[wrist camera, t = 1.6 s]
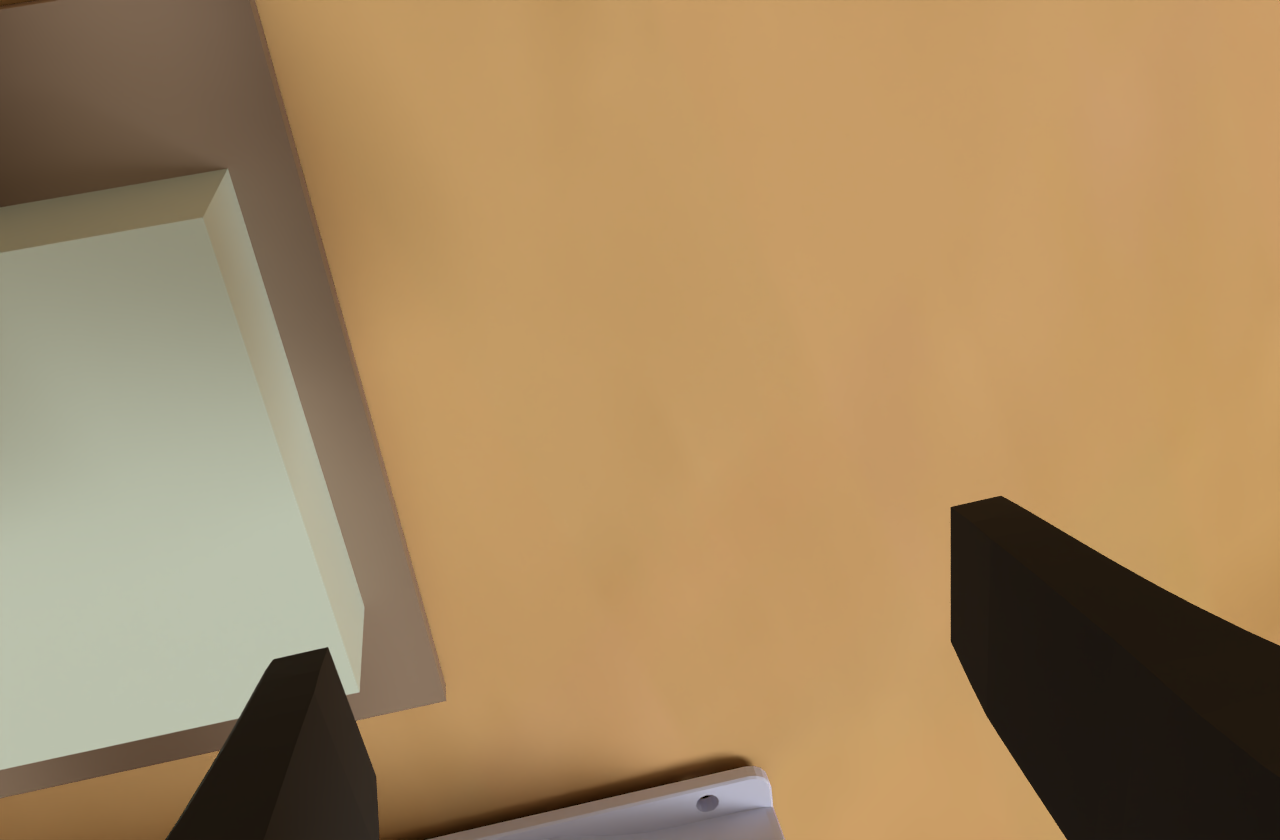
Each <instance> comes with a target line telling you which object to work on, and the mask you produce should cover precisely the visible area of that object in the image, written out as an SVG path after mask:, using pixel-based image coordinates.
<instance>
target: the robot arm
mask: <svg viewBox="0 0 1280 840" xmlns="http://www.w3.org/2000/svg"><path fill="white" fill-rule="evenodd" d="M951 643H952V645H953V647H954V649H955V651H956V654H957V656H958V658H959V660H960V662H961V664H962V666H963V669H964V671H965V673H966V675H967V677H968V679H969V681H970V684H971V686H972V688H973V690H974V692H975V694H976V696H977V698H978V700H979V702H980V704H981V706H982V708H983V710H984V712H985V714H986V716H987V717H988V719H989V720H990V722H991V724H992V725H993V727H994V728H995V730H996V732H997V733H998V735H999V736H1000V738H1001V739H1002V741H1003V742H1004V744H1005V746H1006V747H1007V749H1008V750H1009V752H1010V753H1011V755H1012V756H1013V758H1014V759H1015V761H1016V763H1017V764H1018V766H1019V767H1020V769H1021V770H1022V772H1023V773H1024V775H1025V776H1026V778H1027V779H1028V781H1029V782H1030V784H1031V785H1032V787H1033V789H1034V790H1035V792H1036V793H1037V795H1038V796H1039V798H1040V799H1041V801H1042V802H1043V804H1044V805H1045V807H1046V808H1047V810H1048V811H1049V813H1050V814H1051V816H1052V817H1053V819H1054V820H1055V822H1056V823H1057V825H1058V826H1059V828H1060V830H1061V831H1062V833H1063V834H1064V836H1065V837H1066V839H1067V840H1280V646H1279V645H1277V644H1275V643H1272V642H1270V641H1268V640H1266V639H1263V638H1261V637H1259V636H1257V635H1255V634H1252V633H1250V632H1248V631H1246V630H1244V629H1242V628H1240V627H1238V626H1236V625H1234V624H1232V623H1230V622H1228V621H1226V620H1224V619H1222V618H1220V617H1218V616H1215V615H1213V614H1211V613H1209V612H1207V611H1205V610H1203V609H1201V608H1199V607H1197V606H1195V605H1193V604H1191V603H1189V602H1187V601H1186V600H1184V599H1182V598H1180V597H1178V596H1176V595H1174V594H1172V593H1170V592H1168V591H1166V590H1165V589H1163V588H1161V587H1159V586H1157V585H1155V584H1154V583H1152V582H1150V581H1148V580H1146V579H1144V578H1143V577H1141V576H1139V575H1137V574H1135V573H1134V572H1132V571H1130V570H1128V569H1127V568H1125V567H1123V566H1121V565H1119V564H1118V563H1116V562H1114V561H1112V560H1111V559H1109V558H1107V557H1106V556H1104V555H1102V554H1100V553H1099V552H1097V551H1095V550H1093V549H1092V548H1090V547H1088V546H1087V545H1085V544H1083V543H1082V542H1080V541H1078V540H1076V539H1075V538H1073V537H1071V536H1070V535H1068V534H1066V533H1065V532H1063V531H1061V530H1060V529H1058V528H1056V527H1054V526H1053V525H1051V524H1049V523H1048V522H1046V521H1044V520H1043V519H1041V518H1039V517H1038V516H1036V515H1034V514H1032V513H1031V512H1029V511H1027V510H1026V509H1024V508H1022V507H1020V506H1019V505H1017V504H1015V503H1013V502H1012V501H1010V500H1008V499H1006V498H1004V497H1002V496H998V497H994V498H989V499H985V500H980V501H976V502H971V503H967V504H962V505H958V506H954V507H951ZM706 795H711V796H710V797H707V798H705V799H700V798H701V797H704V796H706ZM165 840H379V820H378V802H377V784H376V775H375V772H374V769H373V767H372V764H371V761H370V759H369V756H368V753H367V750H366V748H365V745H364V742H363V740H362V737H361V734H360V732H359V729H358V726H357V723H356V721H355V718H354V715H353V713H352V710H351V707H350V705H349V702H348V699H347V697H346V694H345V691H344V688H343V686H342V683H341V680H340V678H339V675H338V672H337V670H336V667H335V664H334V661H333V659H332V656H331V653H330V651H329V648H328V647H326V648H321V649H317V650H312V651H308V652H303V653H299V654H294V655H290V656H285V657H281V658H277V659H273V660H272V662H271V663H270V664H269V666H268V667H267V669H266V670H265V672H264V674H263V675H262V677H261V679H260V681H259V682H258V684H257V686H256V688H255V690H254V691H253V693H252V695H251V697H250V699H249V701H248V702H247V704H246V706H245V708H244V710H243V711H242V713H241V715H240V717H239V719H238V720H237V722H236V724H235V726H234V727H233V729H232V731H231V733H230V734H229V736H228V738H227V740H226V741H225V743H224V745H223V747H222V748H221V750H220V752H219V754H218V755H217V757H216V759H215V761H214V762H213V764H212V766H211V767H210V769H209V770H208V772H207V774H206V775H205V777H204V779H203V780H202V782H201V784H200V785H199V787H198V789H197V790H196V792H195V794H194V795H193V797H192V798H191V800H190V802H189V803H188V805H187V807H186V808H185V810H184V812H183V813H182V815H181V816H180V818H179V820H178V821H177V823H176V824H175V826H174V827H173V829H172V831H171V832H170V833H169V835H168V836H167V838H166V839H165ZM427 840H785V838H784V835H783V832H782V830H781V827H780V824H779V821H778V819H777V816H776V813H775V810H774V808H773V801H772V791H771V785H770V783H769V780H768V777H767V775H766V772H765V771H764V770H762V769H761V768H759V767H755V766H746V767H740V768H736V769H732V770H727V771H723V772H719V773H714V774H710V775H706V776H701V777H697V778H693V779H688V780H684V781H679V782H675V783H671V784H666V785H662V786H658V787H653V788H649V789H645V790H640V791H636V792H632V793H627V794H623V795H618V796H614V797H610V798H605V799H601V800H597V801H592V802H588V803H584V804H579V805H575V806H571V807H566V808H562V809H557V810H553V811H549V812H544V813H540V814H536V815H531V816H527V817H523V818H518V819H514V820H510V821H505V822H501V823H497V824H492V825H488V826H483V827H479V828H475V829H470V830H466V831H462V832H457V833H453V834H449V835H444V836H440V837H436V838H431V839H427Z"/></svg>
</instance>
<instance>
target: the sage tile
mask: <svg viewBox="0 0 1280 840" xmlns="http://www.w3.org/2000/svg"><path fill="white" fill-rule="evenodd" d="M363 624H364V604H363V601H362V598H361V594H360V591H359V588H358V585H357V582H356V578H355V575H354V572H353V569H352V565H351V562H350V559H349V556H348V553H347V549H346V546H345V543H344V540H343V537H342V533H341V530H340V527H339V524H338V521H337V517H336V514H335V511H334V508H333V504H332V501H331V498H330V495H329V492H328V488H327V485H326V482H325V479H324V476H323V472H322V469H321V466H320V463H319V460H318V456H317V453H316V450H315V447H314V444H313V440H312V437H311V434H310V431H309V427H308V424H307V421H306V418H305V415H304V411H303V408H302V405H301V402H300V399H299V395H298V392H297V389H296V386H295V383H294V379H293V376H292V373H291V370H290V366H289V363H288V360H287V357H286V354H285V350H284V347H283V344H282V341H281V338H280V334H279V331H278V328H277V325H276V322H275V318H274V315H273V312H272V309H271V305H270V302H269V299H268V296H267V293H266V289H265V286H264V283H263V280H262V277H261V273H260V270H259V267H258V264H257V261H256V257H255V254H254V251H253V248H252V244H251V241H250V238H249V235H248V232H247V228H246V225H245V222H244V219H243V216H242V212H241V209H240V206H239V203H238V200H237V196H236V193H235V190H234V187H233V184H232V180H231V177H230V174H229V171H228V169H222V170H216V171H210V172H204V173H198V174H193V175H187V176H181V177H175V178H169V179H163V180H157V181H152V182H146V183H140V184H134V185H128V186H122V187H117V188H111V189H105V190H99V191H93V192H87V193H82V194H76V195H70V196H64V197H58V198H52V199H47V200H41V201H35V202H29V203H23V204H17V205H11V206H6V207H0V770H2V769H7V768H12V767H16V766H21V765H26V764H30V763H35V762H39V761H44V760H49V759H53V758H58V757H63V756H67V755H72V754H76V753H81V752H86V751H90V750H95V749H100V748H104V747H109V746H113V745H118V744H123V743H127V742H132V741H137V740H141V739H146V738H150V737H155V736H160V735H164V734H169V733H174V732H178V731H183V730H187V729H192V728H197V727H201V726H206V725H211V724H215V723H220V722H224V721H229V720H234V719H238V718H239V717H240V715H241V713H242V711H243V710H244V708H245V706H246V704H247V702H248V701H249V699H250V697H251V695H252V693H253V691H254V690H255V688H256V686H257V684H258V682H259V681H260V679H261V677H262V675H263V674H264V672H265V670H266V669H267V667H268V666H269V664H270V663H271V662H272V660H273V659H277V658H281V657H285V656H290V655H294V654H299V653H303V652H308V651H312V650H317V649H321V648H326V647H328V648H329V651H330V653H331V656H332V659H333V661H334V664H335V667H336V670H337V672H338V675H339V678H340V680H341V683H342V686H343V688H344V691H345V694H346V695H349V694H354V693H359V692H360V676H361V659H362V642H363Z"/></svg>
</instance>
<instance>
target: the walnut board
mask: <svg viewBox="0 0 1280 840" xmlns="http://www.w3.org/2000/svg"><path fill="white" fill-rule="evenodd" d="M222 169H228V171H229V174H230V177H231V180H232V184H233V187H234V190H235V193H236V196H237V200H238V203H239V206H240V209H241V212H242V216H243V219H244V222H245V225H246V228H247V232H248V235H249V238H250V241H251V244H252V248H253V251H254V254H255V257H256V261H257V264H258V267H259V270H260V273H261V277H262V280H263V283H264V286H265V289H266V293H267V296H268V299H269V302H270V305H271V309H272V312H273V315H274V318H275V322H276V325H277V328H278V331H279V334H280V338H281V341H282V344H283V347H284V350H285V354H286V357H287V360H288V363H289V366H290V370H291V373H292V376H293V379H294V383H295V386H296V389H297V392H298V395H299V399H300V402H301V405H302V408H303V411H304V415H305V418H306V421H307V424H308V427H309V431H310V434H311V437H312V440H313V444H314V447H315V450H316V453H317V456H318V460H319V463H320V466H321V469H322V472H323V476H324V479H325V482H326V485H327V488H328V492H329V495H330V498H331V501H332V504H333V508H334V511H335V514H336V517H337V521H338V524H339V527H340V530H341V533H342V537H343V540H344V543H345V546H346V549H347V553H348V556H349V559H350V562H351V565H352V569H353V572H354V575H355V578H356V582H357V585H358V588H359V591H360V594H361V598H362V601H363V604H364V624H363V642H362V659H361V676H360V692H359V693H354V694H349V695H346V697H347V699H348V702H349V705H350V707H351V710H352V713H353V715H354V718H355V721H356V720H361V719H366V718H370V717H375V716H379V715H384V714H388V713H393V712H398V711H402V710H407V709H411V708H416V707H420V706H425V705H430V704H434V703H439V702H443V701H446V685H445V681H444V677H443V674H442V670H441V667H440V663H439V659H438V656H437V652H436V649H435V645H434V641H433V638H432V634H431V631H430V627H429V623H428V620H427V616H426V613H425V609H424V606H423V602H422V598H421V595H420V591H419V588H418V584H417V580H416V577H415V573H414V570H413V566H412V562H411V559H410V555H409V552H408V548H407V544H406V541H405V537H404V534H403V530H402V527H401V523H400V519H399V516H398V512H397V509H396V505H395V501H394V498H393V494H392V491H391V487H390V483H389V480H388V476H387V473H386V469H385V466H384V462H383V458H382V455H381V451H380V448H379V444H378V440H377V437H376V433H375V430H374V426H373V422H372V419H371V415H370V412H369V408H368V405H367V401H366V397H365V394H364V390H363V387H362V383H361V379H360V376H359V372H358V369H357V365H356V361H355V358H354V354H353V351H352V347H351V344H350V340H349V336H348V333H347V329H346V326H345V322H344V318H343V315H342V311H341V308H340V304H339V300H338V297H337V293H336V290H335V286H334V282H333V279H332V275H331V272H330V268H329V265H328V261H327V257H326V254H325V250H324V247H323V243H322V239H321V236H320V232H319V229H318V225H317V221H316V218H315V214H314V211H313V207H312V204H311V200H310V196H309V193H308V189H307V186H306V182H305V178H304V175H303V171H302V168H301V164H300V160H299V157H298V153H297V150H296V146H295V143H294V139H293V135H292V132H291V128H290V125H289V121H288V117H287V114H286V110H285V107H284V103H283V99H282V96H281V92H280V89H279V85H278V82H277V78H276V74H275V71H274V67H273V64H272V60H271V56H270V53H269V49H268V46H267V42H266V38H265V35H264V31H263V28H262V24H261V20H260V17H259V13H258V10H257V6H256V3H255V0H35V1H29V2H22V3H16V4H9V5H3V6H0V207H6V206H11V205H17V204H23V203H29V202H35V201H41V200H47V199H52V198H58V197H64V196H70V195H76V194H82V193H87V192H93V191H99V190H105V189H111V188H117V187H122V186H128V185H134V184H140V183H146V182H152V181H157V180H163V179H169V178H175V177H181V176H187V175H193V174H198V173H204V172H210V171H216V170H222ZM238 719H239V718H238ZM238 719H234V720H229V721H224V722H220V723H215V724H211V725H206V726H201V727H197V728H192V729H187V730H183V731H178V732H174V733H169V734H164V735H160V736H155V737H150V738H146V739H141V740H137V741H132V742H127V743H123V744H118V745H113V746H109V747H104V748H100V749H95V750H90V751H86V752H81V753H76V754H72V755H67V756H63V757H58V758H53V759H49V760H44V761H39V762H35V763H30V764H26V765H21V766H16V767H12V768H7V769H2V770H0V798H4V797H8V796H13V795H18V794H22V793H27V792H31V791H36V790H41V789H45V788H50V787H54V786H59V785H63V784H68V783H73V782H77V781H82V780H86V779H91V778H95V777H100V776H105V775H109V774H114V773H118V772H123V771H127V770H132V769H137V768H141V767H146V766H150V765H155V764H160V763H164V762H169V761H173V760H178V759H182V758H187V757H192V756H196V755H201V754H205V753H210V752H214V751H219V750H221V748H222V747H223V745H224V743H225V741H226V740H227V738H228V736H229V734H230V733H231V731H232V729H233V727H234V726H235V724H236V722H237V720H238Z"/></svg>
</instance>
